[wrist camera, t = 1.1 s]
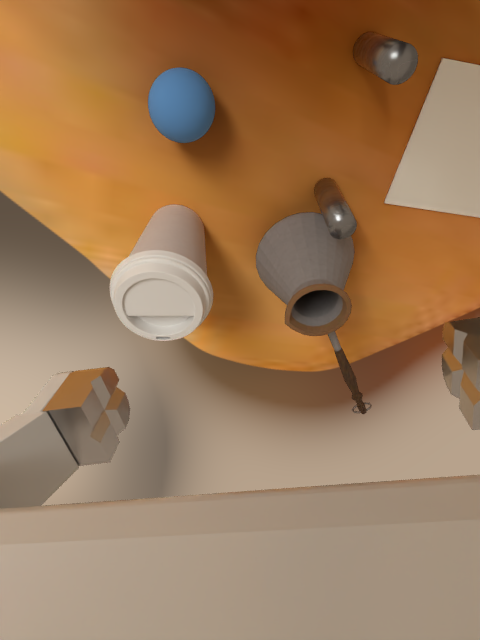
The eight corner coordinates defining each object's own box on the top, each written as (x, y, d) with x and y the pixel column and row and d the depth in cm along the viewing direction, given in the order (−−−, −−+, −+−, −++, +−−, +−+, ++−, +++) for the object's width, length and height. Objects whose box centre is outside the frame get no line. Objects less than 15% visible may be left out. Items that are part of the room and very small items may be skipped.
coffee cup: (127, 249, 49) (95, 330, 37) (147, 177, 43) (117, 246, 32) (201, 274, 51) (192, 357, 40) (229, 210, 46) (228, 285, 34)
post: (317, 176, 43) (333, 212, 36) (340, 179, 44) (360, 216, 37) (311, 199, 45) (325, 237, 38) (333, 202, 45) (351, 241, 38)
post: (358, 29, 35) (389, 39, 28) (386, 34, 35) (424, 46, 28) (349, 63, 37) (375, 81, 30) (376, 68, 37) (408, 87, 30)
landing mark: (442, 57, 37) (443, 58, 36) (579, 84, 38) (580, 85, 38) (383, 202, 45) (384, 203, 45) (496, 219, 47) (497, 220, 47)
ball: (154, 57, 36) (142, 67, 32) (219, 69, 37) (217, 80, 32) (153, 127, 40) (142, 145, 35) (212, 137, 41) (210, 156, 36)
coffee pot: (238, 227, 47) (240, 305, 36) (332, 185, 44) (367, 255, 33) (301, 345, 60) (318, 430, 48) (378, 318, 56) (415, 403, 45)
